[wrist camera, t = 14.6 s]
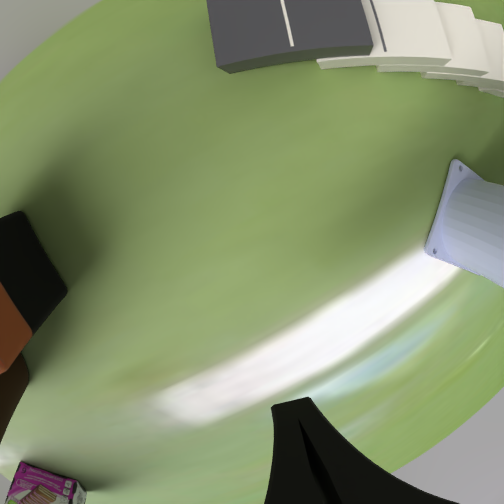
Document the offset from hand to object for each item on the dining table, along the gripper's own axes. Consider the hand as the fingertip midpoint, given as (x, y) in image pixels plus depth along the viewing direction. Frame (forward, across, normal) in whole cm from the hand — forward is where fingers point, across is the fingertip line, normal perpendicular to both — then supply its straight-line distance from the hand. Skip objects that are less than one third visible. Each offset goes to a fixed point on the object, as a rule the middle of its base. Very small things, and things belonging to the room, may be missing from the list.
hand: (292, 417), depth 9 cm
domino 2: (+10, -6, -16) cm, 20 cm away
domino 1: (+10, 0, -16) cm, 19 cm away
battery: (+11, +15, -5) cm, 19 cm away
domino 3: (+10, -10, -16) cm, 21 cm away
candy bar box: (+11, +35, +27) cm, 45 cm away
